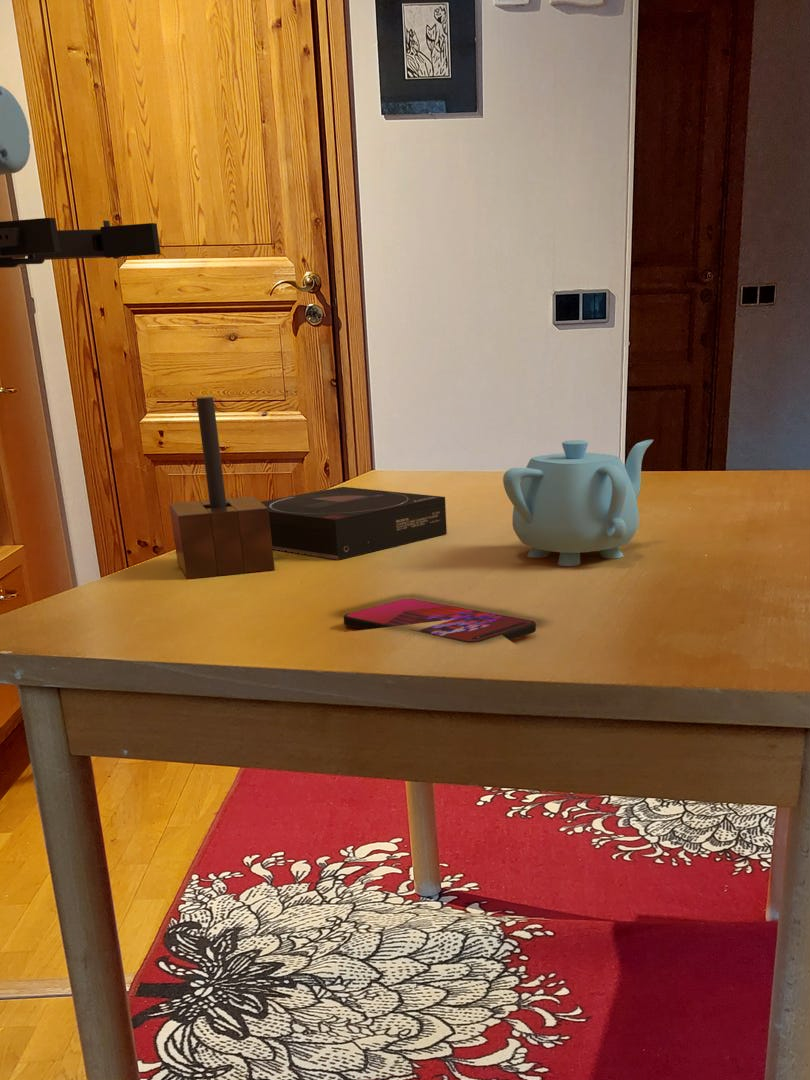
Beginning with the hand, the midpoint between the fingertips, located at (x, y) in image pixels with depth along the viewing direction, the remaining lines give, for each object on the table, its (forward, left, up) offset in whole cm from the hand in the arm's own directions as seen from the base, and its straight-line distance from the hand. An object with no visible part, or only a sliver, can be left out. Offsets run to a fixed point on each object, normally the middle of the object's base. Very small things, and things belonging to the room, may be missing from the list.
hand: (108, 237), depth 109 cm
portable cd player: (+20, +3, -30) cm, 36 cm away
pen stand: (+6, -6, -30) cm, 31 cm away
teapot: (+40, -18, -30) cm, 53 cm away
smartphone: (+18, -40, -30) cm, 53 cm away
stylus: (+6, -6, -30) cm, 31 cm away
